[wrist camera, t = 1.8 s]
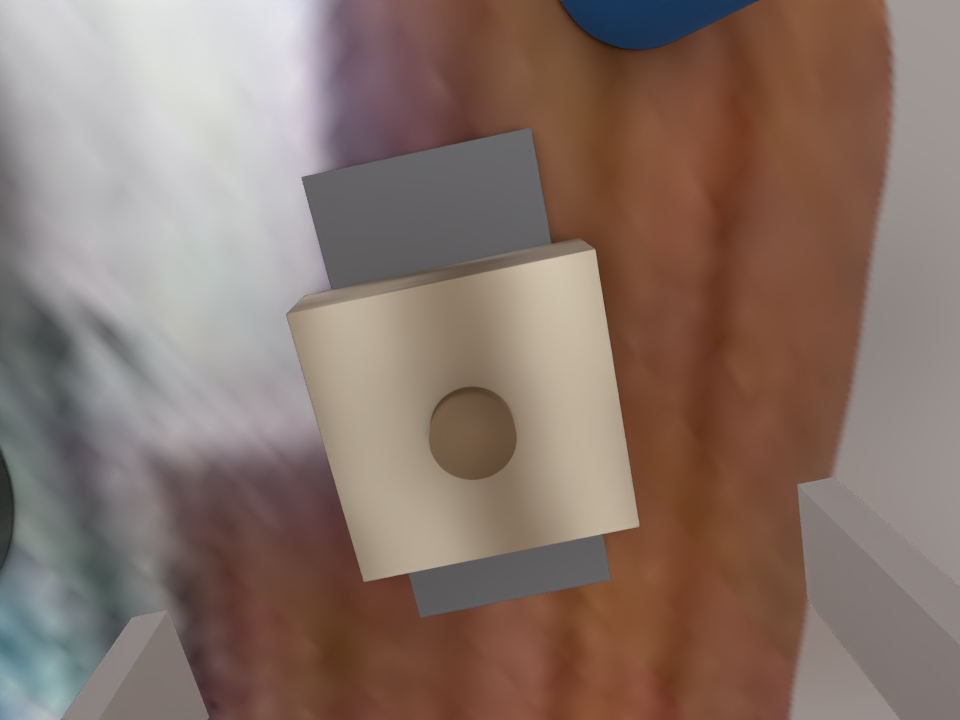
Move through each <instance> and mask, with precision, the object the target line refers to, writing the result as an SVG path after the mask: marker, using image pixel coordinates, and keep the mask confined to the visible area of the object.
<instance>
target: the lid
mask: <svg viewBox="0 0 960 720" xmlns="http://www.w3.org/2000/svg"><path fill="white" fill-rule="evenodd" d="M286 316H287V320H288V323H289V327H290V330H291V334H292V337H293V340H294V344H295V347H296V351H297V354H298V358H299V361H300V364H301V368H302V371H303V375H304V378H305V382H306V385H307V388H308V392H309V395H310V399H311V402H312V406H313V409H314V412H315V416H316V419H317V423H318V426H319V430H320V433H321V437H322V440H323V443H324V447H325V450H326V454H327V457H328V461H329V464H330V467H331V471H332V474H333V478H334V481H335V485H336V488H337V491H338V495H339V498H340V502H341V505H342V509H343V512H344V515H345V519H346V522H347V526H348V529H349V533H350V536H351V540H352V543H353V546H354V550H355V553H356V557H357V560H358V564H359V567H360V570H361V574H362V577H363V581H364V582H366V581H371V580H376V579H381V578H386V577H391V576H396V575H401V574H406V573H411V572H416V571H421V570H426V569H431V568H436V567H441V566H446V565H451V564H456V563H461V562H466V561H471V560H476V559H481V558H486V557H491V556H496V555H501V554H506V553H511V552H516V551H521V550H526V549H531V548H536V547H541V546H546V545H551V544H556V543H560V542H565V541H570V540H575V539H580V538H585V537H590V536H595V535H600V534H605V533H610V532H615V531H620V530H625V529H630V528H635V527H640V526H639V520H638V514H637V508H636V501H635V495H634V489H633V483H632V476H631V470H630V464H629V458H628V452H627V445H626V439H625V433H624V427H623V420H622V414H621V408H620V402H619V395H618V389H617V383H616V377H615V370H614V364H613V358H612V352H611V345H610V339H609V333H608V327H607V320H606V314H605V308H604V302H603V295H602V289H601V283H600V277H599V270H598V264H597V258H596V252H595V249H594V248H593V247H591V246H590V245H589V244H587V243H586V242H584V241H583V240H582V239H580V238H576V239H571V240H566V241H562V242H557V243H552V244H548V245H543V246H538V247H533V248H529V249H524V250H519V251H514V252H510V253H505V254H500V255H496V256H491V257H486V258H481V259H477V260H472V261H467V262H462V263H458V264H453V265H448V266H444V267H439V268H434V269H429V270H425V271H420V272H415V273H411V274H406V275H401V276H396V277H392V278H387V279H382V280H377V281H373V282H368V283H363V284H359V285H354V286H349V287H344V288H340V289H335V290H330V291H325V292H321V293H316V294H311V295H307V296H304V297H303V298H302V299H301V300H300V301H299V302H298V303H297V304H296V305H295V306H294V307H293V308H292V309H291V310H290V311H289V312H288V313H287V314H286Z"/></svg>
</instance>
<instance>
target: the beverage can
mask: <svg viewBox="0 0 960 720" xmlns="http://www.w3.org/2000/svg"><path fill="white" fill-rule="evenodd" d="M756 1H758V0H561V2H562V4H563V5H564V7H565V8H566V10H567V12H568V13H569V14H570V16H571V17H572V18H573V19H574V20H575V22H576V23H577V24H578V25H580V26H581V27H582V28H583V29H584V30H585V31H586V32H588V33H589V34H591V35H592V36H593V37H595V38H597V39H599V40H601V41H603V42H605V43H607V44H610V45H613V46H616V47H620V48H626V49H649V48H655V47H659V46H663V45H666V44H669V43H671V42H674V41H676V40H678V39H680V38H682V37H684V36H686V35H688V34H690V33H693V32H695V31H697V30H699V29H701V28H703V27H705V26H707V25H709V24H711V23H713V22H715V21H717V20H719V19H721V18H723V17H725V16H727V15H729V14H732V13H734V12H736V11H738V10H740V9H742V8H744V7H746V6H748V5H750V4H752V3H754V2H756Z"/></svg>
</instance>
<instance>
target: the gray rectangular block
mask: <svg viewBox="0 0 960 720" xmlns="http://www.w3.org/2000/svg"><path fill="white" fill-rule="evenodd" d="M302 181H303V185H304V188H305V192H306V196H307V200H308V203H309V207H310V211H311V214H312V218H313V222H314V225H315V229H316V233H317V237H318V240H319V244H320V248H321V251H322V255H323V259H324V263H325V266H326V270H327V274H328V277H329V281H330V285H331V289H332V290H335V289H340V288H344V287H349V286H354V285H359V284H363V283H368V282H373V281H377V280H382V279H387V278H392V277H396V276H401V275H406V274H411V273H415V272H420V271H425V270H429V269H434V268H439V267H444V266H448V265H453V264H458V263H462V262H467V261H472V260H477V259H481V258H486V257H491V256H496V255H500V254H505V253H510V252H514V251H519V250H524V249H529V248H533V247H538V246H543V245H548V244H552V243H551V238H550V232H549V226H548V221H547V215H546V210H545V204H544V198H543V193H542V187H541V181H540V176H539V170H538V164H537V159H536V153H535V147H534V142H533V136H532V130H531V128H527V129H522V130H518V131H513V132H508V133H504V134H499V135H495V136H490V137H485V138H481V139H476V140H471V141H467V142H462V143H457V144H453V145H448V146H444V147H439V148H434V149H430V150H425V151H420V152H416V153H411V154H406V155H402V156H397V157H393V158H388V159H383V160H379V161H374V162H369V163H365V164H360V165H356V166H351V167H346V168H342V169H337V170H332V171H328V172H323V173H318V174H314V175H309V176H305V177H302ZM408 574H409V578H410V581H411V585H412V589H413V593H414V596H415V600H416V604H417V607H418V611H419V615H420V618H422V617H427V616H432V615H437V614H442V613H447V612H452V611H457V610H462V609H467V608H472V607H477V606H482V605H487V604H492V603H497V602H502V601H507V600H512V599H517V598H522V597H527V596H532V595H537V594H542V593H547V592H552V591H557V590H562V589H567V588H572V587H577V586H582V585H587V584H592V583H597V582H602V581H607V580H611V576H610V571H609V565H608V560H607V554H606V548H605V543H604V537H603V534H600V535H595V536H590V537H585V538H580V539H575V540H570V541H565V542H560V543H556V544H551V545H546V546H541V547H536V548H531V549H526V550H521V551H516V552H511V553H506V554H501V555H496V556H491V557H486V558H481V559H476V560H471V561H466V562H461V563H456V564H451V565H446V566H441V567H436V568H431V569H426V570H421V571H416V572H411V573H408Z"/></svg>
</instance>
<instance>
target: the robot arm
mask: <svg viewBox="0 0 960 720" xmlns="http://www.w3.org/2000/svg"><path fill="white" fill-rule="evenodd" d="M797 487H798V498H799V509H800V520H801V531H802V542H803V553H804V564H805V576H806V587H807V598H808V601H809V603H810V604H811V605H812V606H813V608H814V609H815V610H816V612H817V613H818V614H819V615H820V617H821V618H822V619H823V621H824V622H825V623H826V624H827V626H828V627H829V628H830V630H831V631H832V632H833V633H834V635H835V636H836V637H837V639H838V640H839V641H840V643H841V644H842V645H843V646H844V648H845V649H846V650H847V652H848V653H849V654H850V655H851V657H852V658H853V659H854V661H855V662H856V663H857V665H858V666H859V667H860V668H861V670H862V671H863V672H864V674H865V675H866V676H867V677H868V679H869V680H870V681H871V683H872V684H873V685H874V686H875V688H876V689H877V690H878V692H879V693H880V694H881V695H882V697H883V698H884V699H885V701H886V702H887V703H888V705H889V706H890V707H891V708H892V710H893V711H894V712H895V713H896V715H897V716H898V717H899V719H900V720H960V585H959V584H958V583H956V582H955V581H954V580H953V579H952V578H951V577H950V576H948V575H947V574H946V573H945V572H944V571H943V570H941V569H940V568H939V567H938V566H937V565H936V564H935V563H933V562H932V561H931V560H930V559H929V558H927V556H925V555H924V554H923V553H922V552H921V551H920V550H918V549H917V548H916V547H915V546H914V545H913V544H912V543H910V542H909V541H908V540H907V539H906V538H905V537H904V536H902V535H901V534H900V533H899V532H898V531H897V530H895V529H894V528H893V527H892V526H891V525H890V524H889V523H887V522H886V521H885V520H884V519H883V518H882V517H880V516H879V515H878V514H877V513H876V512H875V511H873V510H872V509H871V508H870V507H869V506H868V505H867V504H866V503H864V502H863V501H862V500H861V499H860V498H859V497H857V496H856V495H855V494H854V493H853V492H852V491H851V490H849V489H848V488H847V487H846V486H845V485H844V484H843V483H841V482H840V481H839V480H838V479H837V478H836V477H833V478H828V479H823V480H818V481H813V482H808V483H803V484H798V485H797ZM11 530H12V499H11V491H10V486H9V481H8V477H7V474H6V470H5V467H4V464H3V461H2V459H1V456H0V569H1V566H2V564H3V561H4V559H5V556H6V553H7V550H8V546H9V542H10V537H11ZM208 718H209V716H208V713H207V710H206V708H205V705H204V703H203V700H202V697H201V695H200V692H199V690H198V687H197V684H196V682H195V679H194V677H193V674H192V671H191V669H190V666H189V664H188V661H187V658H186V656H185V653H184V651H183V648H182V645H181V643H180V640H179V638H178V635H177V632H176V630H175V627H174V625H173V622H172V619H171V617H170V614H169V612H168V610H166V611H161V612H156V613H151V614H146V615H141V616H136V617H132V618H131V620H130V621H129V622H128V624H127V625H126V627H125V628H124V630H123V631H122V632H121V634H120V635H119V637H118V638H117V640H116V641H115V643H114V644H113V645H112V647H111V648H110V650H109V651H108V653H107V654H106V655H105V657H104V658H103V660H102V661H101V663H100V664H99V665H98V667H97V668H96V670H95V671H94V673H93V674H92V675H91V677H90V678H89V680H88V681H87V683H86V684H85V685H84V687H83V688H82V690H81V691H80V693H79V694H78V695H77V697H76V698H75V700H74V701H73V703H72V704H71V705H70V707H69V708H68V710H67V711H66V713H65V714H64V715H63V717H62V718H61V720H208Z"/></svg>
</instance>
